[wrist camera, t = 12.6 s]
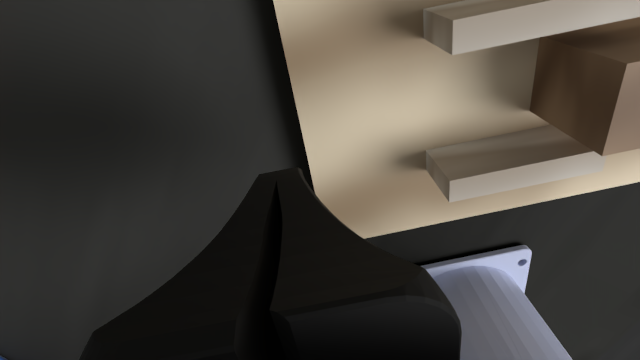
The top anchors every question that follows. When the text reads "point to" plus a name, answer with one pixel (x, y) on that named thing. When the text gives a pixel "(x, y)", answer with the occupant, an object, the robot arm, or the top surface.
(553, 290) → the top surface
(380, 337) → the robot arm
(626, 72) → the slat
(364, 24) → the slat board
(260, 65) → the top surface
